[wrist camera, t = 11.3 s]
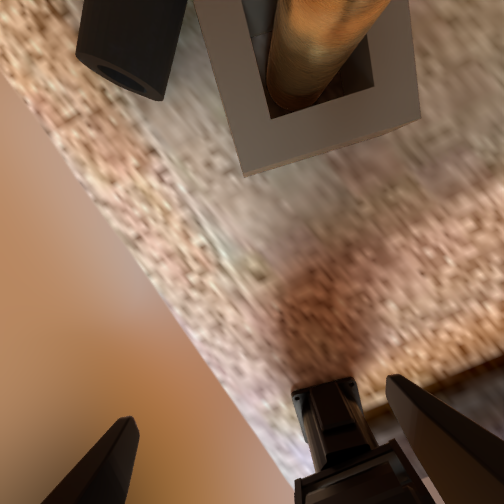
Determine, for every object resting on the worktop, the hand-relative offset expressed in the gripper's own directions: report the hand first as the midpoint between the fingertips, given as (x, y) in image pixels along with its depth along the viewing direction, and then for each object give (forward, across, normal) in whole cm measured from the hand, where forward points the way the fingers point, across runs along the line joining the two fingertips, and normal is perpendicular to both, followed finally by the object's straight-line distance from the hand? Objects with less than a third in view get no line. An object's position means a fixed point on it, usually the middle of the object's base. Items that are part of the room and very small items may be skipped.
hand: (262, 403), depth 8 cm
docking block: (+14, -6, -14) cm, 21 cm away
